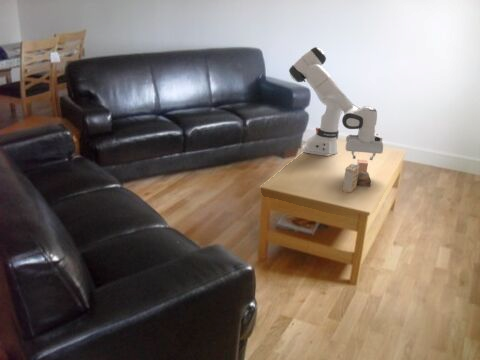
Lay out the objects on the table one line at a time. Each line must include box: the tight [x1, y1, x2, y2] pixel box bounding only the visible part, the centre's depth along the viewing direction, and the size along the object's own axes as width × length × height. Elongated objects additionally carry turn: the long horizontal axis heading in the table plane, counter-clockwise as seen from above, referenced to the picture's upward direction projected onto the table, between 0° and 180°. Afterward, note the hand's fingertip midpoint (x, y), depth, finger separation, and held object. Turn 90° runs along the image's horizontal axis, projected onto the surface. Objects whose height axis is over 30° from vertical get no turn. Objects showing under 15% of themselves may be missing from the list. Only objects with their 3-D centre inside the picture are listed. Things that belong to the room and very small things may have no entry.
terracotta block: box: [356, 159, 369, 172], centre depth 276 cm, size 5×5×7 cm
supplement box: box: [342, 163, 359, 194], centre depth 253 cm, size 8×5×13 cm, turn 148°
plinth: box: [356, 171, 372, 187], centre depth 265 cm, size 11×11×4 cm
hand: (362, 159), depth 274 cm, fingers open, 8 cm apart
